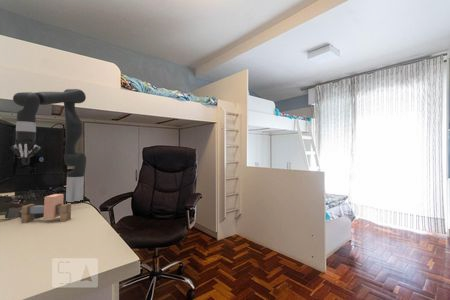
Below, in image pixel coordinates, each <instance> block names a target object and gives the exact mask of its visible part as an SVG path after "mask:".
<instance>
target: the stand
mask: <svg viewBox="0 0 450 300" xmlns="http://www.w3.org/2000/svg"><path fill="white" fill-rule="evenodd" d="M30 206H36V203H29V204H26V205H23V206H21V210H22V216H21V217H20V222H21V224H27V223H30V222H32V221H34V220H35V219H34V215H35V213H29V214H28V208H29V207H30ZM71 216H72V204H71V203H67V204H66V203H65V204H64V203H63V205H61V206H60V216H59V222H60V223H65V222H67V221H69V220H71V218H72V217H71Z"/></svg>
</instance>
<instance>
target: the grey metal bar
mask: <svg viewBox="0 0 450 300" xmlns="http://www.w3.org/2000/svg"><path fill="white" fill-rule="evenodd" d="M60 206H61V205H56V211H55V213H60ZM29 213H44V204H41V205H36V204H35V206H30V207H29V208H28V214H29Z"/></svg>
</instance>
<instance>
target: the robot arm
mask: <svg viewBox="0 0 450 300" xmlns="http://www.w3.org/2000/svg"><path fill="white" fill-rule="evenodd" d="M86 98H87V97H86V93H85V92H84V91H83V90H81V89H78V88H70V89H69V88H67V89H65V90H63V91H37V92H32V91H29V92H27V91H26V92H17V93H16V92H15V94H14V95H13V96H12V100H13V103H15V105H17V106H20V107H22V109H21V110H18V111H17V113H16V125H15V140H16V141H15V144H13V145H12V146H10V149H11V151H12V152H14V154H15V156H17V157H21V164H22V165H24V166H25V165H26V166H27V165H29V164H31V157H34V156H35V155H36V154H37V153H38V152H39V151H40V150H41V149H42V147H41V146H39V145H37V142H36V141H37V136H36V135H37V125H36V124H37V123H36V121H37V116H36V115H37V112H38V110H39V107H40V106H41V105H42V106H43V105H44V106H47V105H55V104H62V103H63V105H64V106H63V107H64V108H63V109H64V118H65V123H64V128H65V129H64V130H65V148H64V158H63V159H64V164H65V165H66V166H67V167H73V169H72V170H71V171H68V172H67V174H66V187H65V188H66V191H65V192H66V193H65V195H66V196H65V202H66V201H67V202H74V201H80V200H83V201H84V188H85V187H84V183H85V173H86V167H87V166H86V165H87V155H86V154H85V153H83V152H76V147H77V144H78V142H79V140H80V138H81V137H82V136H83V122H82V120H81V118H80V117H79V115H78V113H77V112H76V104H82V103H84V102H85V101H86Z"/></svg>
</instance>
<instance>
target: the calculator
mask: <svg viewBox="0 0 450 300" xmlns="http://www.w3.org/2000/svg"><path fill="white" fill-rule="evenodd" d="M21 216H22V209H21V210H20V211H18V218H21ZM42 218H44V213H35V215H34V220H35V219H42Z"/></svg>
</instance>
